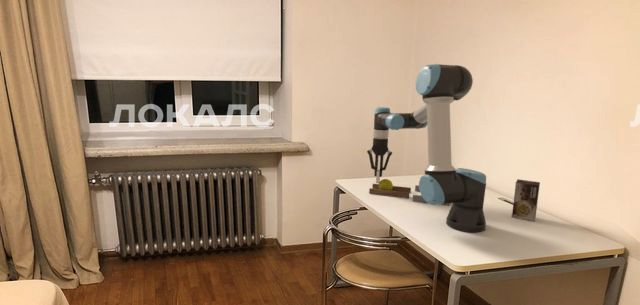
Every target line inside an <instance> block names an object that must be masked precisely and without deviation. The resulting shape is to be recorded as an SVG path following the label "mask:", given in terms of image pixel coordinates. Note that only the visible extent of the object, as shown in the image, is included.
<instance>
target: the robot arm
mask: <svg viewBox="0 0 640 305" xmlns="http://www.w3.org/2000/svg"><path fill="white" fill-rule="evenodd" d="M473 80H474V78H473V76H472V73H471V71H470V70H469V69H467V67H465V66H462V65H458V64H457V65H455V64H454V65H453V64H452V65H451V64H438V63H434V64H426V65H424V66H423V67H421V68H420V70H419V72H418V74H417V76H416V80H415V90H416V93H418V94H419V95H420V96H422V101H423V103H422V104H421V105H420V106H419V107H417V109H415V110H414V111H413V112H409V113H408V112H407V113H406V112H404V113H403V112H397V113H396V112H394V113H393V112H391V109H390V108H389V107H388V106H387V107H386V106H385V107H384V106H378V107H375V109H374V114H373V115H374V118H373V119H374V121H373V138H372V147H371V149H368V150H367V151H366V152H367V155H368V157H369V163H370V168H371V169H372V170H374V177H376V180H375V184H379V182H380V181H381V180H380V179H381V178H382V176H383V171H386V169H387V167H388V164H389V161H390V158H391V155H393V151H391V150H389V145H388V144H389V133H390V132H389V131H390V130H392V131H393V130H395V131H399V130H404V129H405V130H406V129H416V130H420V129H425V128H426V129H427V152H428V153H427V154H428V157H427V158H428V166H427V167H426V168H425V169H424V175H422V176H421V177H420V178H419V181H418V185H419V190H420V192H419V194H420V195H421V196H422V197H423V198H424V200H425V201H426V202H427V203H426V204H429V205H437V206H438V205H439V206H442V204H449V205H450V204H452V206H451V208H450V209H449V211H448V214H447V216H446V221H445V223H446V225H447V226H448V227H450V228H452V229H454V230H457V231H460V232H465V233H481V232H484V231H485V230H486V227H487V223H486V222H487V221H486V218H485V214H484V213H485V212H484V205H485V203H484V201H485V196H486V188H487V175H486V174H485V173H484V172H482V171H477V170H473V169H469V168H463V167H458V168H455V167H454V166H453V164H452V162H453V161H452V140H451V139H452V137H451V136H452V135H451V131H452V130H451V106H450V105H451V104H452V103H453V102H455V101H460V100H461V99H462V98H463V99H464V97H465V96H466V95H468V93H469V92H471V89H472V87H473V83H474V81H473ZM389 129H390V130H389ZM373 154H374V155H375V156H374V157H373ZM386 154H387V156H386V159H385V162H384V156H385V155H386ZM379 157H380V158H379ZM373 158H374V159H373ZM379 159H380V160H379ZM379 161H380V162H379ZM378 166H379V167H378Z"/></svg>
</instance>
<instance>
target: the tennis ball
mask: <svg viewBox="0 0 640 305" xmlns="http://www.w3.org/2000/svg"><path fill="white" fill-rule="evenodd" d="M378 184H379V189H381V190H390V191H391V190H392V188H393V186H394V185H393V182H392V180H390V179H388V178H384V179H381V180H380V182H379V183H378Z"/></svg>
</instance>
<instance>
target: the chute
mask: <svg viewBox="0 0 640 305" xmlns="http://www.w3.org/2000/svg"><path fill="white" fill-rule="evenodd" d="M371 187H372V188H371ZM371 187H369V189H368V190H369V191H368V194H369V195H379V196H387V197H396V198H403V199H410V194H411V192H412V187H407V186H400V185H397V186H396V185H393V188H392V190H391V191H390V190H381V189H379V183H372V185H371Z"/></svg>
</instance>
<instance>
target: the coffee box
mask: <svg viewBox="0 0 640 305" xmlns="http://www.w3.org/2000/svg"><path fill="white" fill-rule="evenodd" d="M540 186H541V182H540V181H532V180H524V179H519V178H518V179H516V182H515V188H514V196H513V203H512V204H513V205H512V212H511V218H514V219H520V220H525V221H530V222H535V221H536V218H537V217H536V216H537V210H538V209H537V208H538V203H539V202H538V200H539V195H540V194H539V192H540Z"/></svg>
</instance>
